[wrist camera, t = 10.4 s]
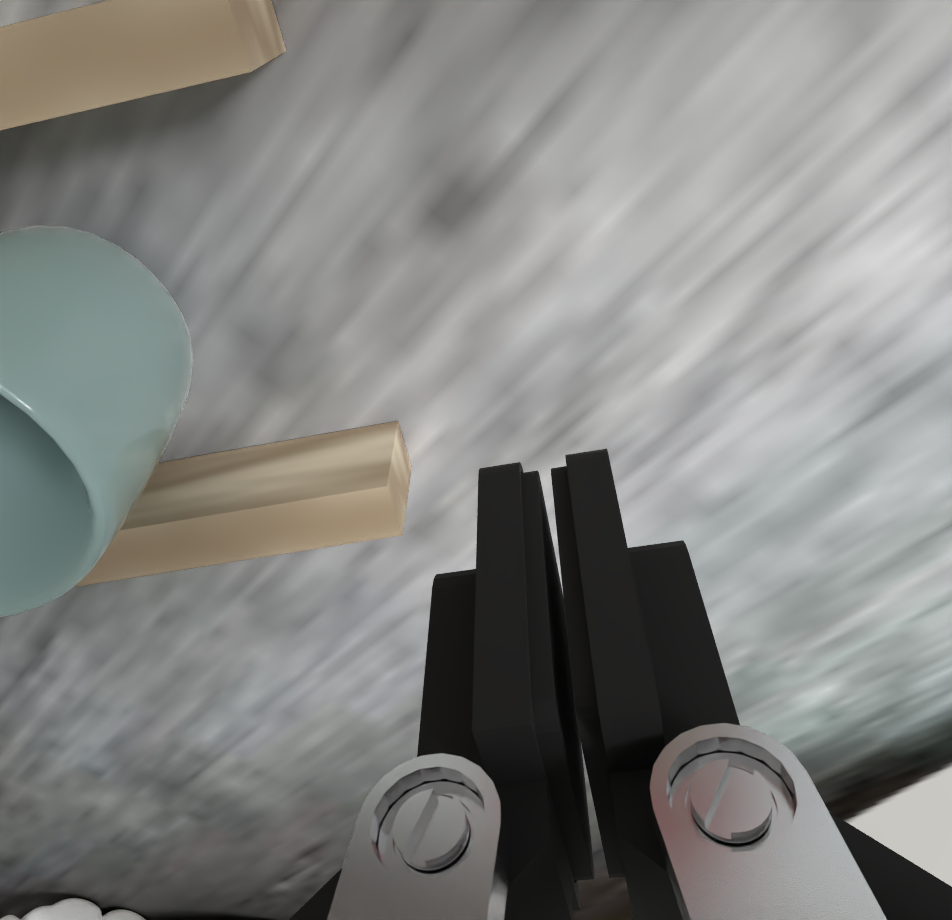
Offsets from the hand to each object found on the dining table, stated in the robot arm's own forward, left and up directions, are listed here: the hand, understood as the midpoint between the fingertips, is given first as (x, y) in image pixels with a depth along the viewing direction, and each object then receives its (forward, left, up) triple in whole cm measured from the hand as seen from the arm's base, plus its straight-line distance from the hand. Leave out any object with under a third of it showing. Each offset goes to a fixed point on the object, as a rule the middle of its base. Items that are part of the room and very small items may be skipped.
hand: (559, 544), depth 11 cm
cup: (+1, -14, -16) cm, 21 cm away
